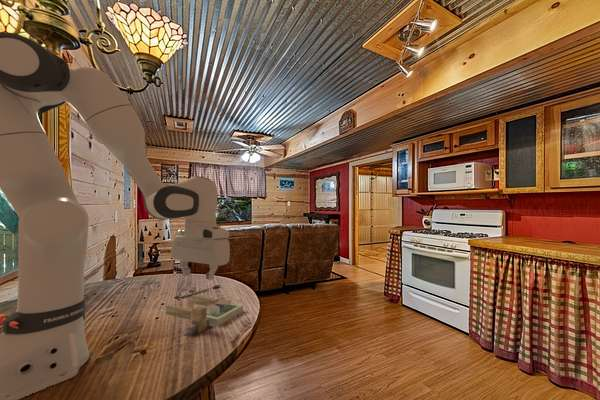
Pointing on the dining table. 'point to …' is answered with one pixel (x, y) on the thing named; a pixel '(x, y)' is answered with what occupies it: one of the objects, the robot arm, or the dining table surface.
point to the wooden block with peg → (198, 320)
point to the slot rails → (187, 312)
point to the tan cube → (213, 310)
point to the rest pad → (197, 333)
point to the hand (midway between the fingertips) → (197, 277)
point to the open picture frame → (225, 315)
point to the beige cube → (223, 306)
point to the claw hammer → (194, 293)
